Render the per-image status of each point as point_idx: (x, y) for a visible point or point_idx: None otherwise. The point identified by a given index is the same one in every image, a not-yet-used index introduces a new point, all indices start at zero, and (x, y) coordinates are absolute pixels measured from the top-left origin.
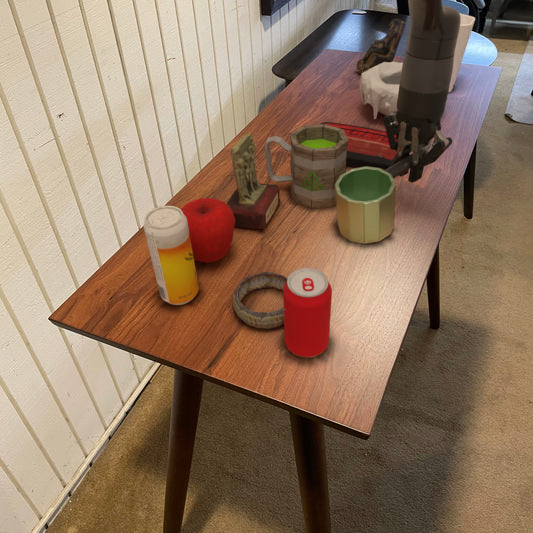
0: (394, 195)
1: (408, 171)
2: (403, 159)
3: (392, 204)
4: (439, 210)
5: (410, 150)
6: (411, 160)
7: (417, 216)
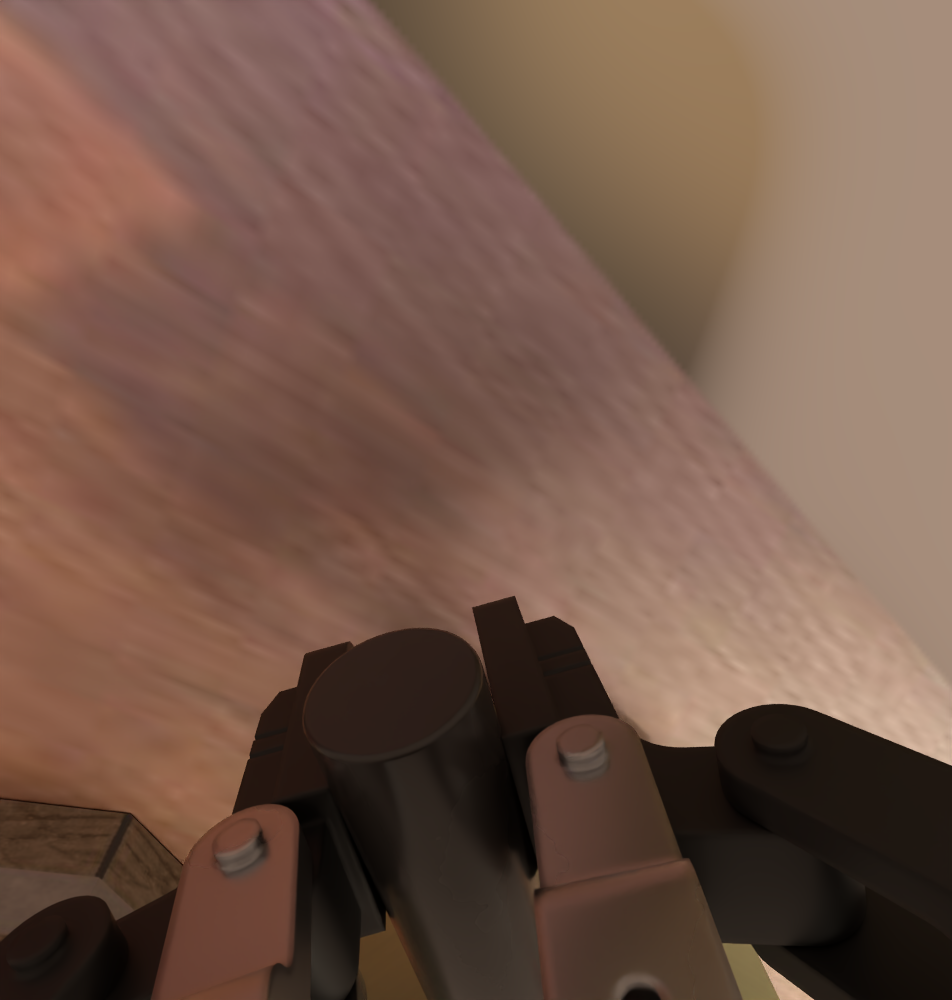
0: (742, 997)
1: (347, 643)
2: (453, 978)
3: (748, 962)
4: (542, 281)
5: (307, 866)
6: (516, 892)
7: (536, 477)
